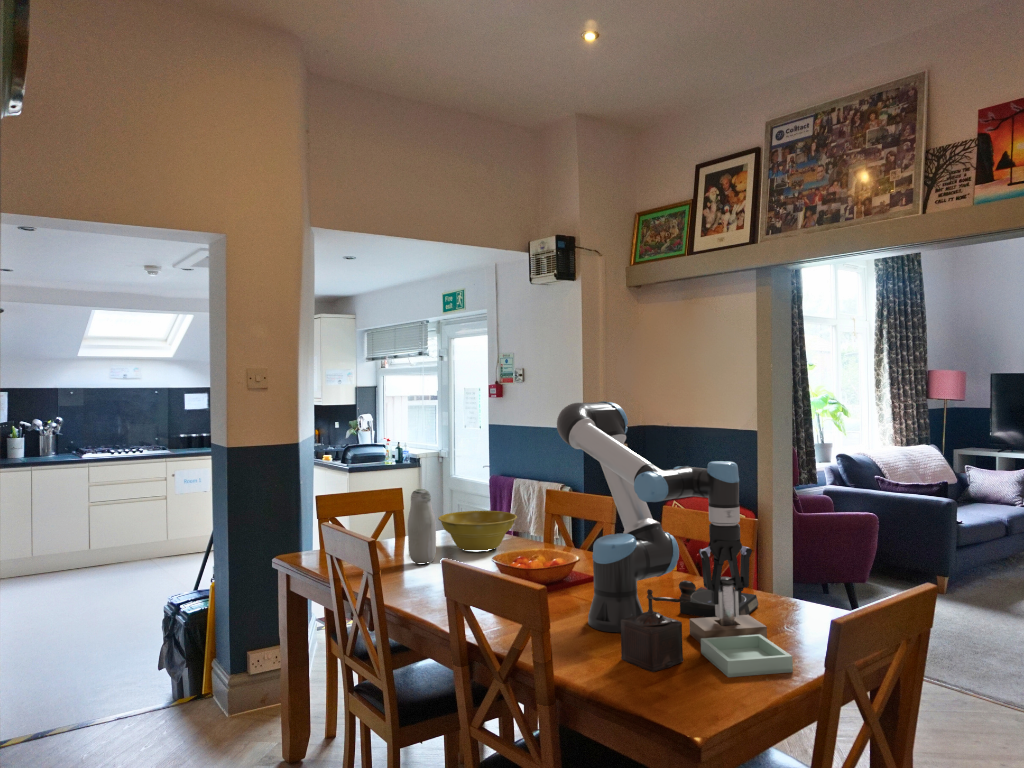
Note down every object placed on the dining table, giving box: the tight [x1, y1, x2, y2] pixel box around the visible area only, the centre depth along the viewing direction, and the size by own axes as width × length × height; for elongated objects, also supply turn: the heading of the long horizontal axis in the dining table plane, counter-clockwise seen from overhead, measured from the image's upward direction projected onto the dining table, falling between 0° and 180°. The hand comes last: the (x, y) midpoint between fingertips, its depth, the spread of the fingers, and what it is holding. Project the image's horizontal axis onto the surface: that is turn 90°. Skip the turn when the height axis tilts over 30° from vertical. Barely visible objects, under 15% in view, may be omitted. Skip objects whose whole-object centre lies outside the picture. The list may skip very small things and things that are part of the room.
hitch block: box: [688, 614, 768, 644], centre depth 183 cm, size 16×10×4 cm, turn 98°
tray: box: [700, 634, 794, 678], centre depth 167 cm, size 15×15×4 cm
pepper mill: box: [620, 580, 697, 673], centre depth 170 cm, size 16×11×18 cm
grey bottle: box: [407, 488, 437, 564], centre depth 273 cm, size 10×10×28 cm
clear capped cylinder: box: [719, 576, 735, 626], centre depth 183 cm, size 4×4×15 cm
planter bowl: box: [438, 510, 518, 550], centre depth 297 cm, size 32×32×13 cm
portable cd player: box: [679, 586, 759, 618], centre depth 207 cm, size 16×17×4 cm
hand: (727, 616), depth 183 cm, fingers closed on clear capped cylinder, 3 cm apart
